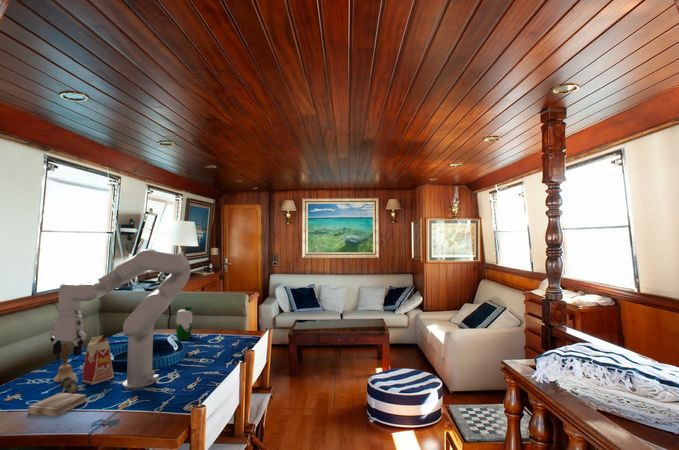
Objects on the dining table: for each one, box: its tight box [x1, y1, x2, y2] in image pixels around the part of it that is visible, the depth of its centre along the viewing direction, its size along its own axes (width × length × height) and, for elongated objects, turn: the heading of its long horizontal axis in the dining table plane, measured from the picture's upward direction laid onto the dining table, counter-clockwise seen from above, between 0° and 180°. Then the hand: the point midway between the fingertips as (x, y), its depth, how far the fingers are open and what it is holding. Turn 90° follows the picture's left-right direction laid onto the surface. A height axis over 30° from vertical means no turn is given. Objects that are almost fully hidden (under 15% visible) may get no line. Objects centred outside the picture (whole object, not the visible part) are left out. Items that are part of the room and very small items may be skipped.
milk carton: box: [82, 334, 115, 386], centre depth 159 cm, size 9×9×20 cm
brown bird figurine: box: [59, 375, 79, 394], centre depth 146 cm, size 8×7×9 cm
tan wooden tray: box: [27, 392, 87, 417], centre depth 132 cm, size 12×12×3 cm
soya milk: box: [176, 305, 193, 340], centre depth 228 cm, size 9×9×20 cm
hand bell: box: [52, 342, 77, 383], centre depth 161 cm, size 8×8×16 cm
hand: (67, 354), depth 147 cm, fingers open, 9 cm apart
